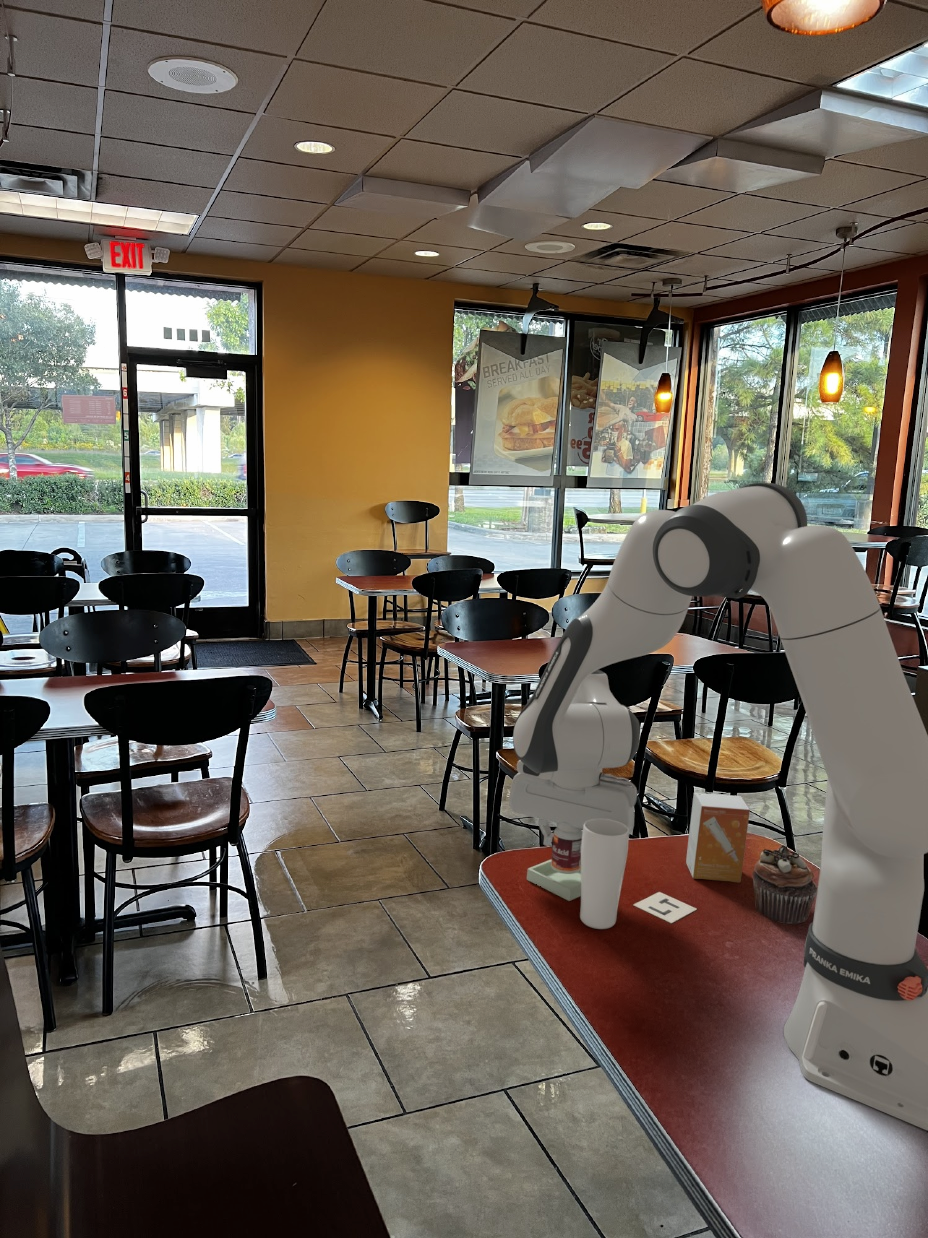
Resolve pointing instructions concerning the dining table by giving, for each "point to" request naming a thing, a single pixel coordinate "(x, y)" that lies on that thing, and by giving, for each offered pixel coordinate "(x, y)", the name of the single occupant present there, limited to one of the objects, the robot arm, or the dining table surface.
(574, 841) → the pill bottle
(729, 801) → the small box
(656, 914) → the coaster
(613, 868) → the drinking glass
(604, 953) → the dining table surface
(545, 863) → the sage tray
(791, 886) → the cupcake
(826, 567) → the robot arm
